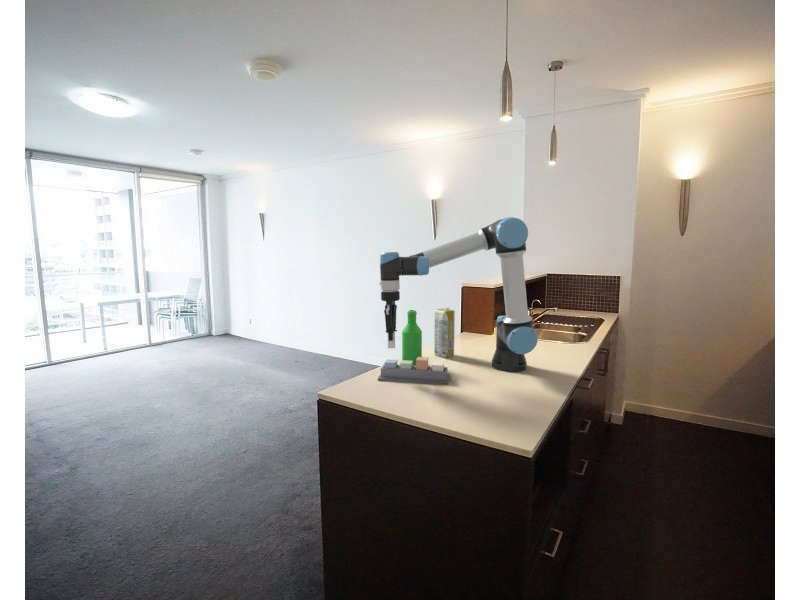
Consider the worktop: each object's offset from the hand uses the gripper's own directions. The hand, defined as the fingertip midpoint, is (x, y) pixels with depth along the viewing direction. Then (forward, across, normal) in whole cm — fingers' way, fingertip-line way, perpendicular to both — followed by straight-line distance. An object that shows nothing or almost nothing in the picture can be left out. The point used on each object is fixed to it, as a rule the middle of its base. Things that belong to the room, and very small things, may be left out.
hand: (391, 347), depth 166 cm
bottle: (+13, -18, +5) cm, 23 cm away
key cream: (+11, 0, +19) cm, 22 cm away
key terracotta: (+9, 0, +13) cm, 16 cm away
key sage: (+11, 0, +6) cm, 12 cm away
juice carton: (+13, -36, +18) cm, 42 cm away
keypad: (+13, 0, +9) cm, 16 cm away
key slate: (+11, 0, 0) cm, 11 cm away
